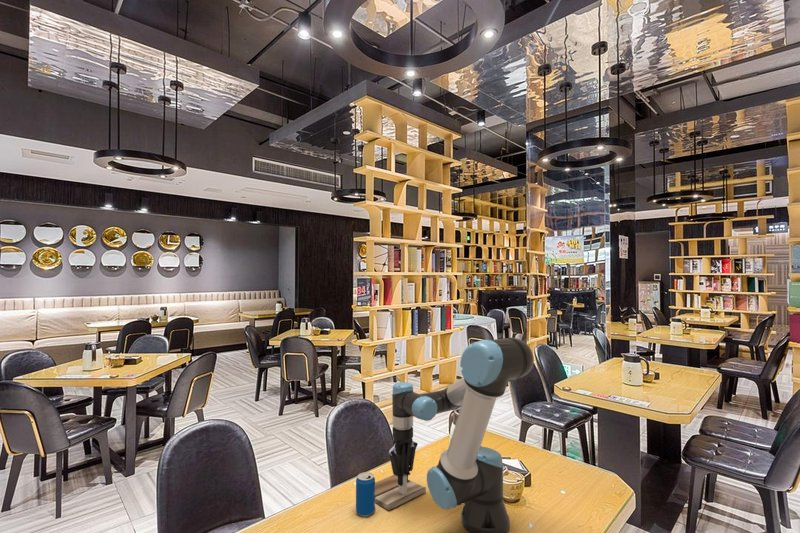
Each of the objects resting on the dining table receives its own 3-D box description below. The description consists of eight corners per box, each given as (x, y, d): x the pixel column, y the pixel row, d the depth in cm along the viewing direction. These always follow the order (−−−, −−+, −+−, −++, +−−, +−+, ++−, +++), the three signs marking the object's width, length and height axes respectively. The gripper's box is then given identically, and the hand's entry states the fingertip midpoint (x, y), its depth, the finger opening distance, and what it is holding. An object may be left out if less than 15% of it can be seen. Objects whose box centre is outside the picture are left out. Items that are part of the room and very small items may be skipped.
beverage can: (372, 518, 129) (372, 481, 129) (353, 516, 130) (353, 479, 131) (377, 508, 135) (377, 472, 136) (359, 506, 136) (359, 470, 137)
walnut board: (410, 485, 151) (410, 480, 151) (373, 501, 139) (373, 497, 139) (396, 477, 157) (396, 473, 157) (360, 493, 145) (360, 488, 145)
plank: (426, 492, 145) (425, 487, 145) (388, 510, 133) (388, 505, 133) (411, 485, 150) (411, 480, 151) (374, 502, 139) (374, 497, 139)
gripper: (408, 419, 149) (409, 483, 148) (382, 428, 141) (382, 495, 139) (422, 425, 144) (423, 491, 142) (396, 433, 135) (396, 504, 134)
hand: (403, 493), depth 141 cm, fingers closed
